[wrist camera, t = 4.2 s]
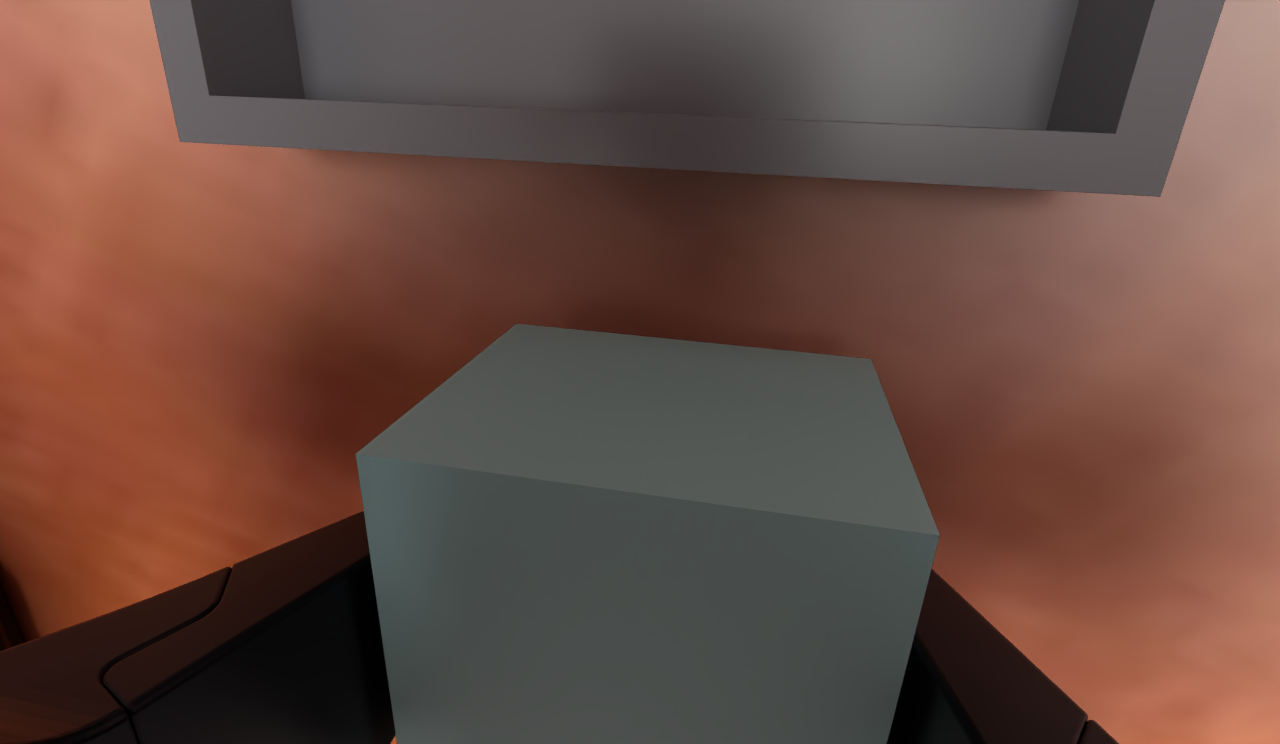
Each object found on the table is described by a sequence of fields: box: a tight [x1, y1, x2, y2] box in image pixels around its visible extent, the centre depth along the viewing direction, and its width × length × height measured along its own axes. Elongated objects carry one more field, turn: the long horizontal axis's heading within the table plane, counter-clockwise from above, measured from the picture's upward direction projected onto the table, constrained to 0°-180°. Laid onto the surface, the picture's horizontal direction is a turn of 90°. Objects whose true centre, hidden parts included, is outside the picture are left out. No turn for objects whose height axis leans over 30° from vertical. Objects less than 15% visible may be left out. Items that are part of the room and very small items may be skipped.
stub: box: [356, 324, 940, 744], centre depth 8 cm, size 5×4×4 cm
